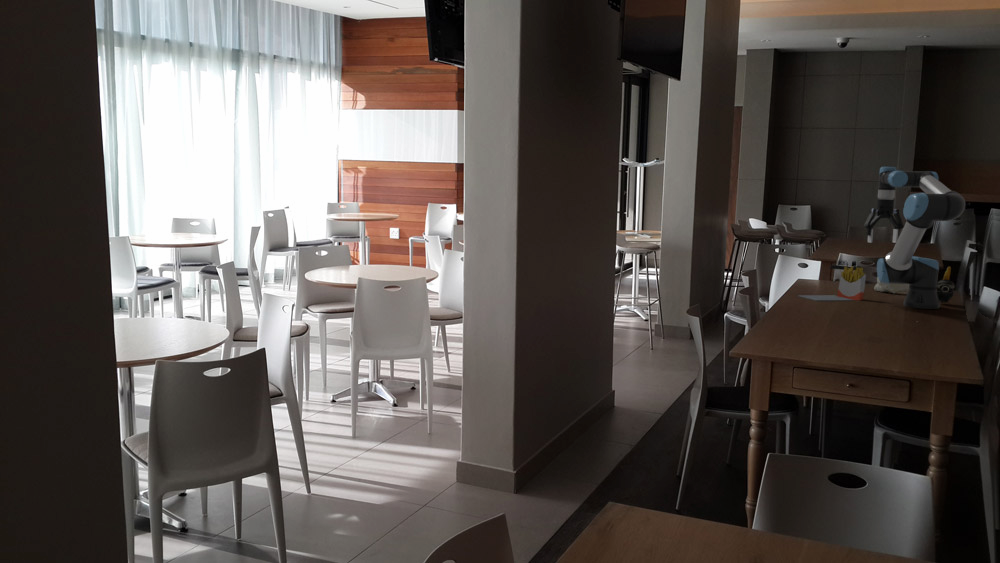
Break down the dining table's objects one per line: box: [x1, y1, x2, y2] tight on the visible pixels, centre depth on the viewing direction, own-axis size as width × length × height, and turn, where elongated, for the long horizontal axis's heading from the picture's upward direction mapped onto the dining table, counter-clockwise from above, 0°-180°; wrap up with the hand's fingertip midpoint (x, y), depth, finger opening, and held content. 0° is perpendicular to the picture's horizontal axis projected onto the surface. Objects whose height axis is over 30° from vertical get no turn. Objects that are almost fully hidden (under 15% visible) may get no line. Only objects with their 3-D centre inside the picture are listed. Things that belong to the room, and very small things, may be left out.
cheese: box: [873, 276, 909, 295], centre depth 428 cm, size 15×7×15 cm
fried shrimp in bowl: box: [937, 266, 956, 304], centre depth 398 cm, size 9×11×18 cm
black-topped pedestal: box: [829, 259, 861, 280], centre depth 468 cm, size 28×26×13 cm
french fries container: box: [836, 267, 867, 301], centre depth 406 cm, size 5×11×18 cm, turn 41°
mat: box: [797, 294, 854, 302], centre depth 405 cm, size 16×20×1 cm
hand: (882, 242), depth 408 cm, fingers open, 13 cm apart
